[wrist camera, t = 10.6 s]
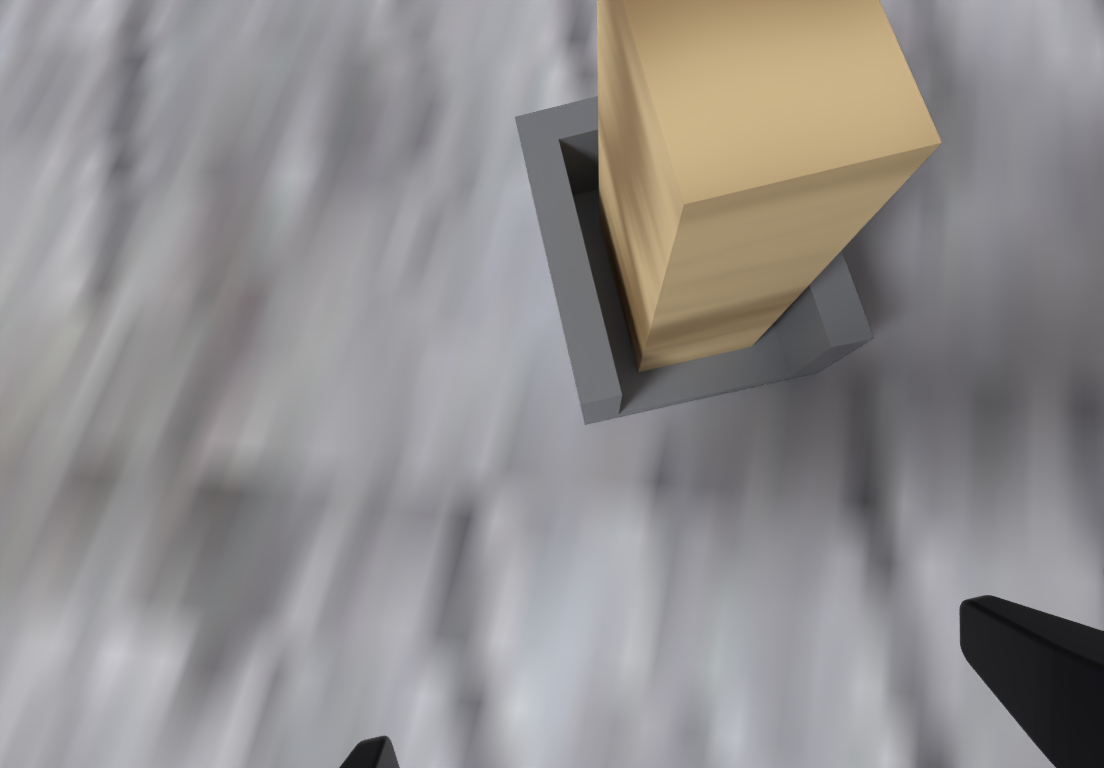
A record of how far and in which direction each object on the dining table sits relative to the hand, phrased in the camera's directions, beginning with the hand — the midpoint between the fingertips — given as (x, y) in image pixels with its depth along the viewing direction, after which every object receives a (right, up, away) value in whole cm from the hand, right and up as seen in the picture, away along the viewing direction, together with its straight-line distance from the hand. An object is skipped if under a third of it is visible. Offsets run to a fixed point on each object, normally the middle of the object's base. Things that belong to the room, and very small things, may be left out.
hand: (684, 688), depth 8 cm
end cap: (+2, +8, +12) cm, 15 cm away
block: (+2, +8, +11) cm, 14 cm away
